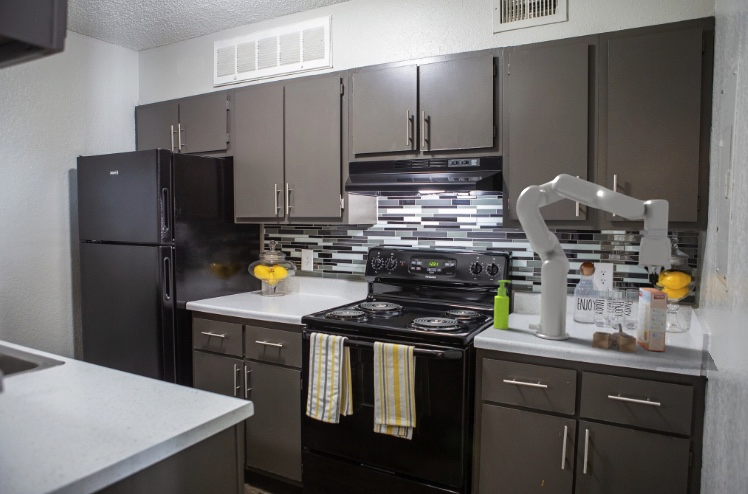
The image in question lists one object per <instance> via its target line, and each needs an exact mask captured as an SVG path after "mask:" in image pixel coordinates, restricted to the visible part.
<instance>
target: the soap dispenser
mask: <svg viewBox="0 0 748 494" xmlns="http://www.w3.org/2000/svg"><path fill="white" fill-rule="evenodd" d="M497 282H498V283H500V284H499V287H498V288H497V295H495V296H494V304H493V305H494V307H493V309H494V310H493V329H496V330H508V329H509V318H510V317H509V314H510V312H509V311H510V310H509V309H510V306H509V305H510V297H509V296H508V295H507V288H506V287H505V283H511V284H512V283H513V281H511V280H507V279H500V280H498V281H497Z"/></svg>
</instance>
